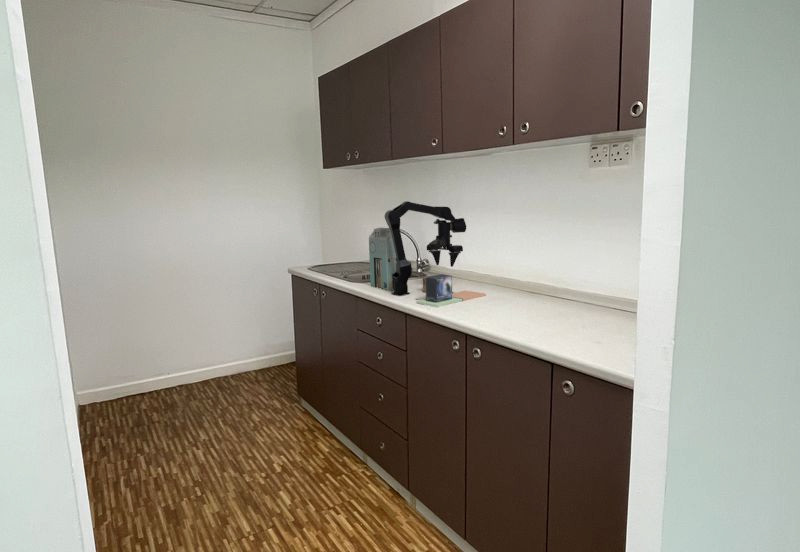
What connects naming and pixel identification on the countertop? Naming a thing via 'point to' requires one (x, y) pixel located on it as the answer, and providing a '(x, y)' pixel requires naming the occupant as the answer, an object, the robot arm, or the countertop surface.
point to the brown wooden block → (425, 285)
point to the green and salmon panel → (454, 298)
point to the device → (382, 259)
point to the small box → (438, 288)
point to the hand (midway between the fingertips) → (444, 265)
